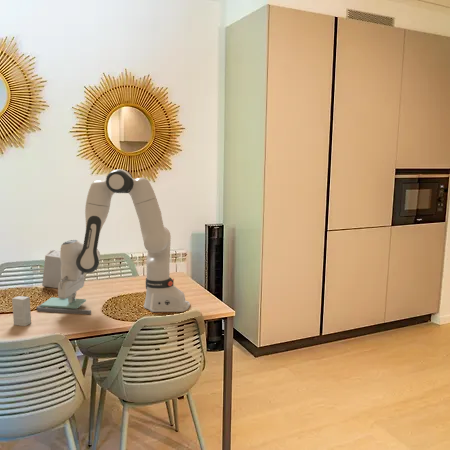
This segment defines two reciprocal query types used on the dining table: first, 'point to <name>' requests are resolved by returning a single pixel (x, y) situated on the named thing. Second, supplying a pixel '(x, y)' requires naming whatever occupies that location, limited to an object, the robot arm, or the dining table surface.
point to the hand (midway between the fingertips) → (71, 301)
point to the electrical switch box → (52, 269)
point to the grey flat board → (63, 310)
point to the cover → (63, 303)
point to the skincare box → (21, 310)
